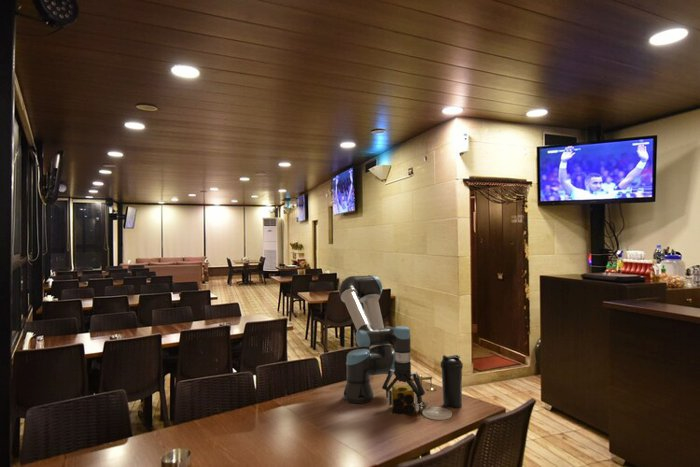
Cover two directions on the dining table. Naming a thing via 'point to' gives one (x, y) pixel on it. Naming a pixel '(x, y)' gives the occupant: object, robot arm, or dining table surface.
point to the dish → (437, 413)
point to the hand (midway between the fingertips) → (403, 407)
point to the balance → (426, 387)
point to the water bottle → (452, 381)
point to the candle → (403, 400)
